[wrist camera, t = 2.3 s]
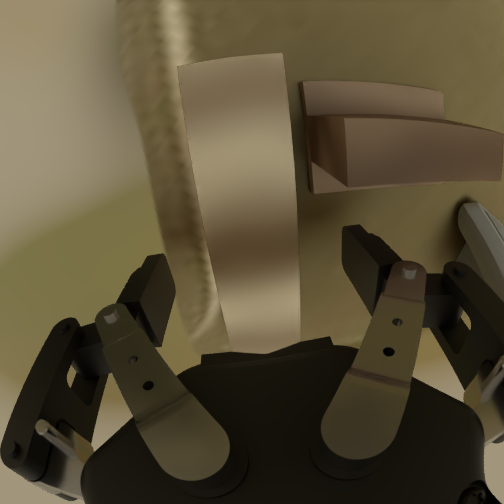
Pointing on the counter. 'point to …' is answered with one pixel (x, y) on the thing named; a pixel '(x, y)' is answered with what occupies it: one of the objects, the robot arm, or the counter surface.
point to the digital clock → (483, 245)
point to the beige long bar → (246, 194)
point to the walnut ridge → (390, 138)
